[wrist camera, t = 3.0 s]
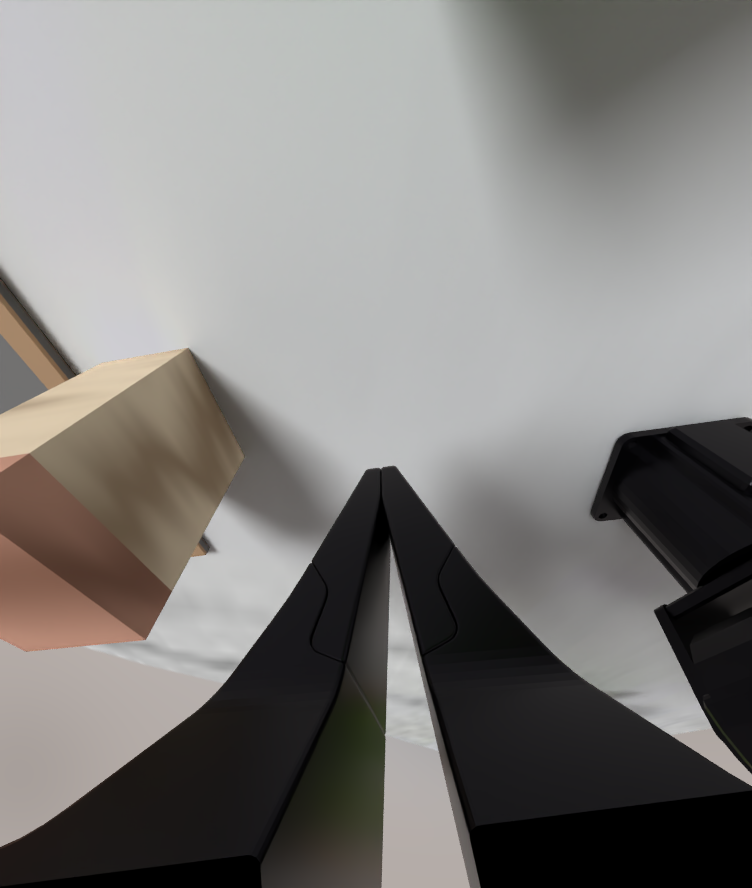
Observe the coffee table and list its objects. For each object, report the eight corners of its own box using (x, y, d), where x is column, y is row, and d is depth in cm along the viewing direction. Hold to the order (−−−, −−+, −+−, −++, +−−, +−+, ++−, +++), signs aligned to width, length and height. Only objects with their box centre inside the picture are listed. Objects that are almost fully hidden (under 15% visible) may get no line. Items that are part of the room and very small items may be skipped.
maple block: (244, 456, 16) (145, 639, 9) (175, 466, 17) (26, 651, 9) (188, 347, 13) (-44, 501, 6) (102, 362, 13) (-223, 526, 6)
